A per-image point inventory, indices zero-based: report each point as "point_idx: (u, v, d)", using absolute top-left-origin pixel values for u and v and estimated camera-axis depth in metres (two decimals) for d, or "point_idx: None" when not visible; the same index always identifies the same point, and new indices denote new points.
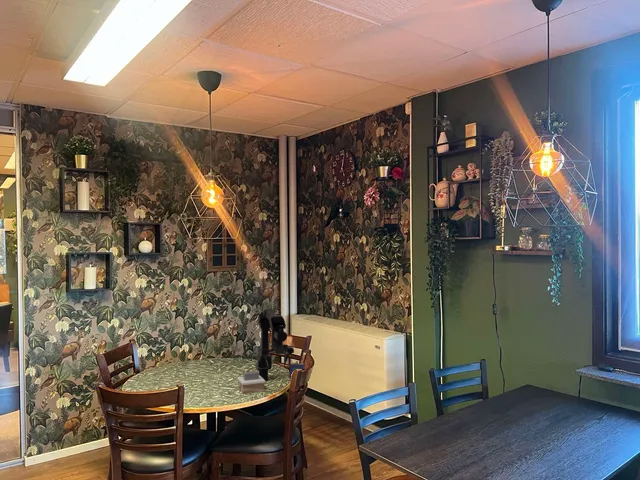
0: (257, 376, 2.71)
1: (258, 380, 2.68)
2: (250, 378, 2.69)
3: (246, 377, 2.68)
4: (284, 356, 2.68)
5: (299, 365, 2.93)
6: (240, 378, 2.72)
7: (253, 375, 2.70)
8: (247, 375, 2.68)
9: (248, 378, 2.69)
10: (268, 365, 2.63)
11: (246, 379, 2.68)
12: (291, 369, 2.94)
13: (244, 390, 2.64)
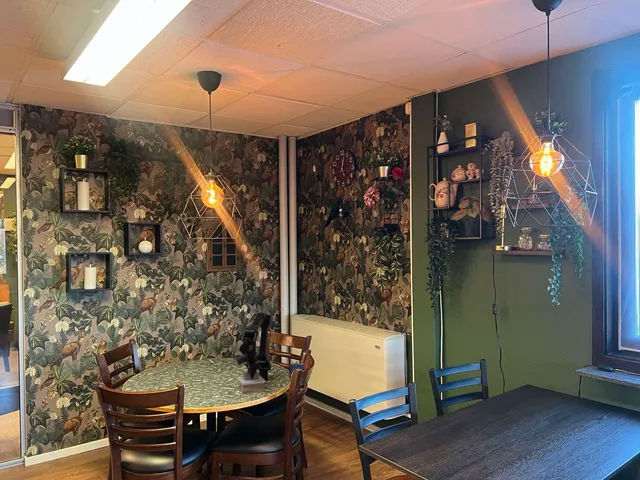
0: (257, 376, 2.71)
1: (258, 380, 2.68)
2: (250, 378, 2.69)
3: (246, 377, 2.68)
4: None
5: (299, 365, 2.93)
6: (240, 378, 2.72)
7: None
8: (247, 375, 2.68)
9: (248, 378, 2.69)
10: None
11: (246, 379, 2.68)
12: (291, 369, 2.94)
13: (244, 390, 2.64)
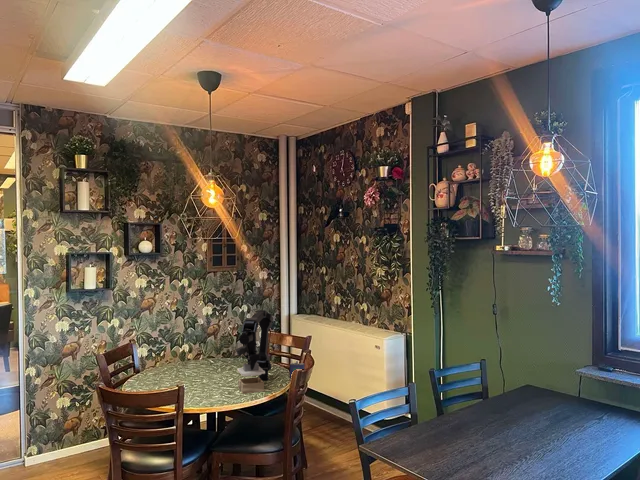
0: (257, 367, 2.71)
1: (258, 371, 2.68)
2: (250, 369, 2.69)
3: (246, 368, 2.68)
4: None
5: (299, 365, 2.93)
6: (240, 369, 2.72)
7: None
8: (247, 366, 2.68)
9: (248, 369, 2.69)
10: None
11: (246, 370, 2.68)
12: (291, 369, 2.94)
13: (244, 390, 2.64)
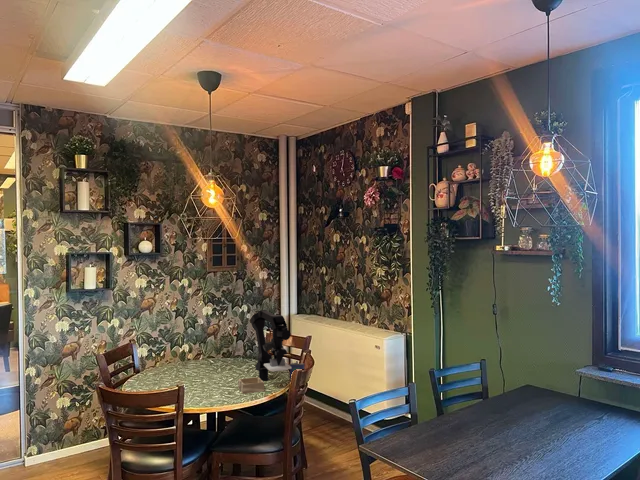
0: (283, 362, 2.77)
1: (284, 366, 2.74)
2: (277, 364, 2.75)
3: (273, 363, 2.74)
4: None
5: (299, 365, 2.93)
6: (267, 364, 2.78)
7: None
8: (274, 361, 2.74)
9: (275, 364, 2.75)
10: None
11: (273, 365, 2.74)
12: (291, 369, 2.94)
13: (244, 390, 2.64)
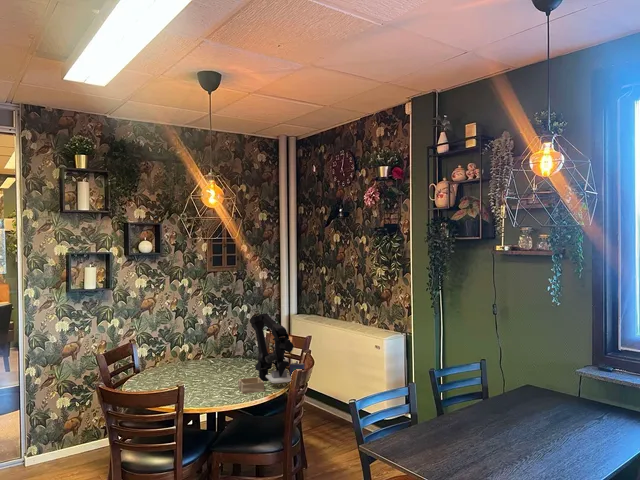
0: (285, 374, 2.77)
1: (287, 378, 2.75)
2: (279, 376, 2.76)
3: (275, 375, 2.75)
4: None
5: (299, 365, 2.93)
6: (269, 376, 2.79)
7: None
8: (276, 373, 2.75)
9: (277, 376, 2.75)
10: None
11: (275, 377, 2.75)
12: (291, 369, 2.94)
13: (244, 390, 2.64)
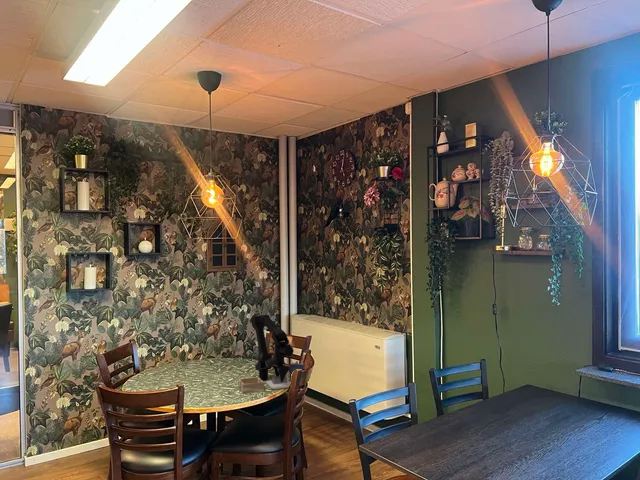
0: (285, 380, 2.77)
1: (287, 384, 2.75)
2: (279, 382, 2.75)
3: (275, 381, 2.75)
4: None
5: (299, 365, 2.93)
6: (269, 382, 2.79)
7: None
8: (276, 379, 2.75)
9: (277, 382, 2.75)
10: None
11: (275, 383, 2.75)
12: (291, 369, 2.94)
13: (244, 390, 2.64)
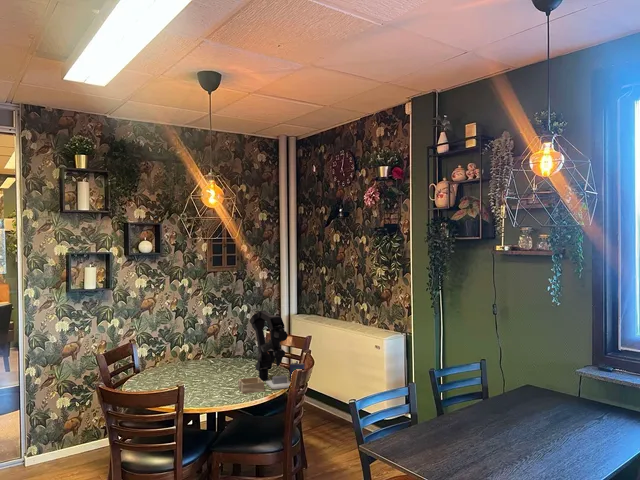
0: (285, 380, 2.77)
1: (287, 384, 2.75)
2: (279, 382, 2.75)
3: (275, 381, 2.75)
4: None
5: (299, 365, 2.93)
6: (269, 382, 2.79)
7: (282, 379, 2.76)
8: (276, 379, 2.75)
9: (277, 382, 2.75)
10: (271, 360, 2.82)
11: (275, 383, 2.75)
12: (291, 369, 2.94)
13: (244, 390, 2.64)
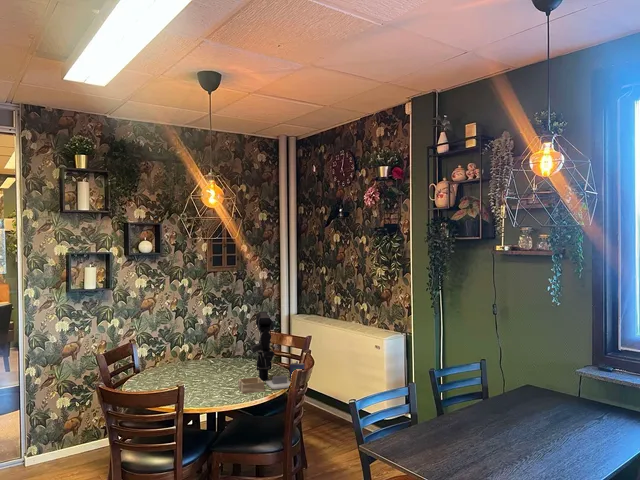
0: (285, 380, 2.77)
1: (287, 384, 2.75)
2: (279, 382, 2.75)
3: (275, 381, 2.75)
4: None
5: (299, 365, 2.93)
6: (269, 382, 2.79)
7: (282, 379, 2.76)
8: (276, 379, 2.75)
9: (277, 382, 2.75)
10: (261, 361, 2.82)
11: (275, 383, 2.75)
12: (291, 369, 2.94)
13: (244, 390, 2.64)
